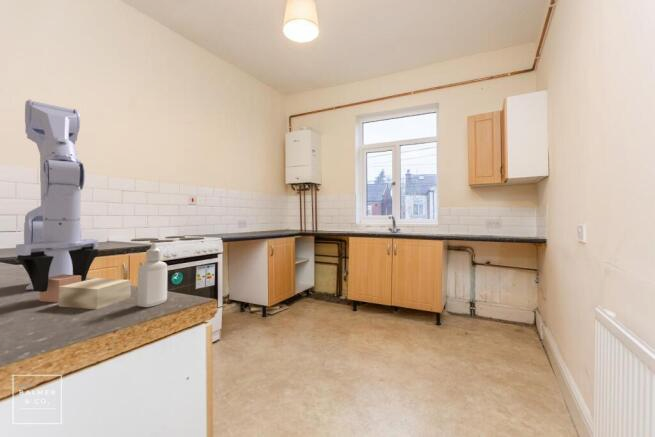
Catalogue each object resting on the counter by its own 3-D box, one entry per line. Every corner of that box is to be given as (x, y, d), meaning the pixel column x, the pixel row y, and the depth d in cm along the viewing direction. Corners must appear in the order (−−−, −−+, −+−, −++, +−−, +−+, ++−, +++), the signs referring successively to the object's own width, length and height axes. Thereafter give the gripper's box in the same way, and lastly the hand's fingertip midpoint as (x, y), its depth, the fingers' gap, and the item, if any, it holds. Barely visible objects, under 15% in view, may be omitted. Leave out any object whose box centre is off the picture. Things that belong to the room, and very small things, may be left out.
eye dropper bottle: (171, 303, 60) (173, 243, 60) (139, 309, 56) (141, 244, 56) (163, 298, 63) (165, 241, 63) (133, 304, 59) (134, 243, 59)
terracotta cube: (39, 301, 60) (39, 278, 60) (62, 295, 64) (63, 274, 64) (58, 302, 59) (59, 280, 59) (80, 296, 63) (81, 275, 63)
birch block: (58, 307, 57) (59, 286, 57) (96, 296, 65) (97, 277, 65) (96, 310, 56) (97, 289, 56) (130, 298, 64) (130, 280, 64)
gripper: (39, 220, 54) (38, 297, 54) (110, 220, 68) (109, 280, 68) (6, 219, 55) (5, 294, 55) (83, 219, 69) (82, 278, 69)
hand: (61, 286), depth 62 cm, fingers open, 7 cm apart
